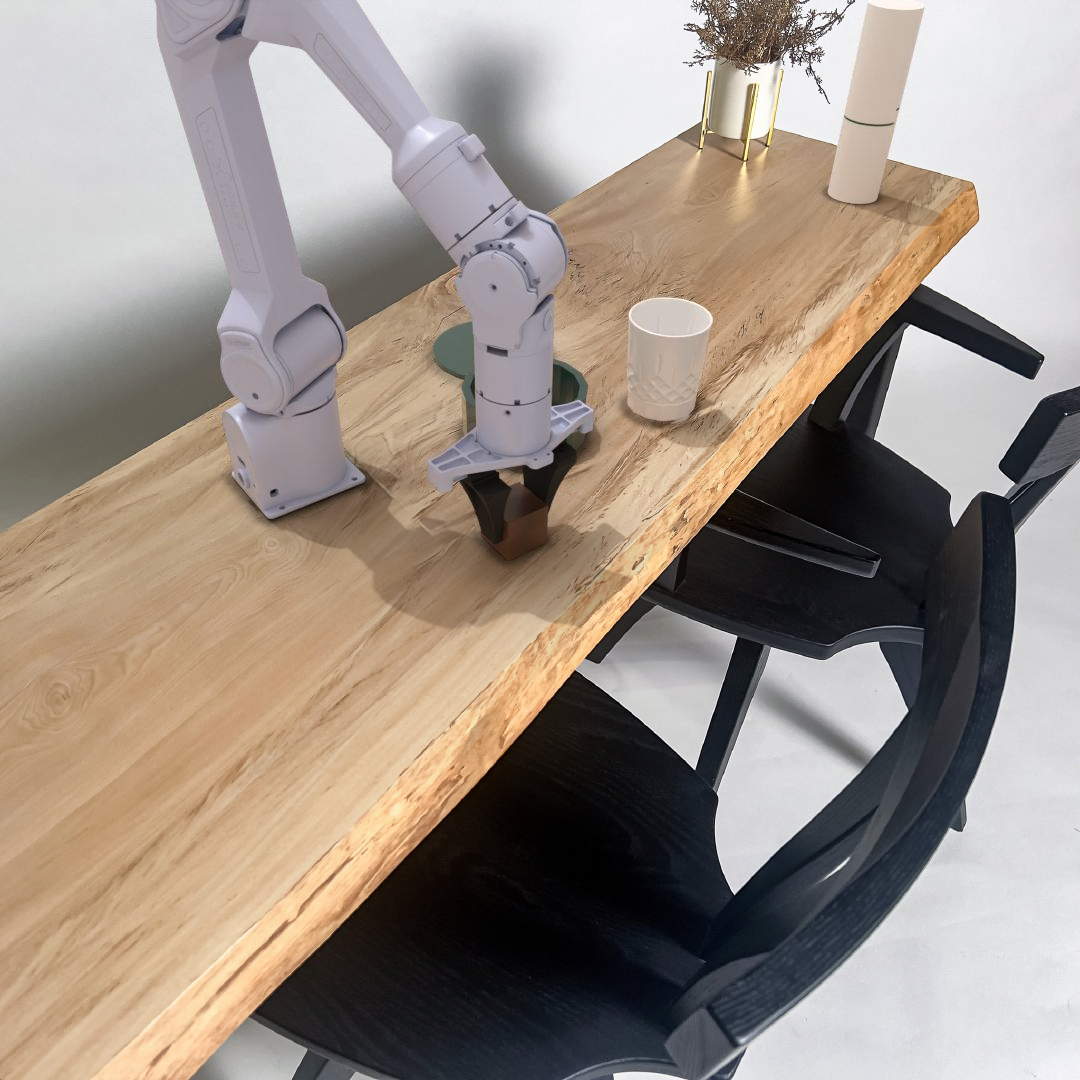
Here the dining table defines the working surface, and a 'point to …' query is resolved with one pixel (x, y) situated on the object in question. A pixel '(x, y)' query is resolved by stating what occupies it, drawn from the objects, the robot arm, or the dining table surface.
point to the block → (522, 523)
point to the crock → (564, 390)
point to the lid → (456, 350)
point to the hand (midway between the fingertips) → (513, 526)
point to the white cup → (666, 357)
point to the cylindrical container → (874, 98)
